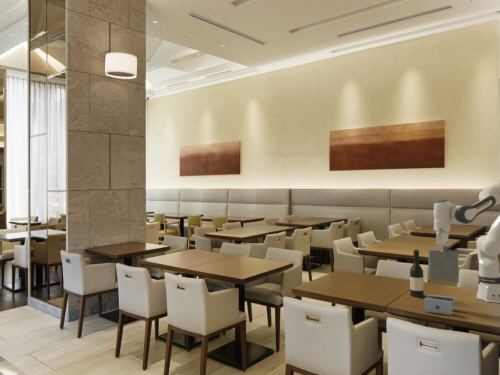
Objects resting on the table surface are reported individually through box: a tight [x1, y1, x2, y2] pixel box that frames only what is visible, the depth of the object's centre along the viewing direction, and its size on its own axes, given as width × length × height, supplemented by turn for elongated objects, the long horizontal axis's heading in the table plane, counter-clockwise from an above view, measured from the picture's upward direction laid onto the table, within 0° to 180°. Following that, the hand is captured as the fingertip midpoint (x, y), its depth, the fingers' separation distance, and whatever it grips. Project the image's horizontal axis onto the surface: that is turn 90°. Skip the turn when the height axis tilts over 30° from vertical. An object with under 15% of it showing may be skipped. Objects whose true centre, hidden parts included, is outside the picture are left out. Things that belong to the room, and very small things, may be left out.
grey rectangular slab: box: [427, 245, 460, 283], centre depth 236 cm, size 16×4×20 cm, turn 57°
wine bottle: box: [409, 248, 425, 298], centre depth 261 cm, size 8×8×30 cm
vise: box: [423, 293, 455, 316], centre depth 229 cm, size 14×14×7 cm
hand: (442, 251), depth 236 cm, fingers closed on grey rectangular slab, 4 cm apart
